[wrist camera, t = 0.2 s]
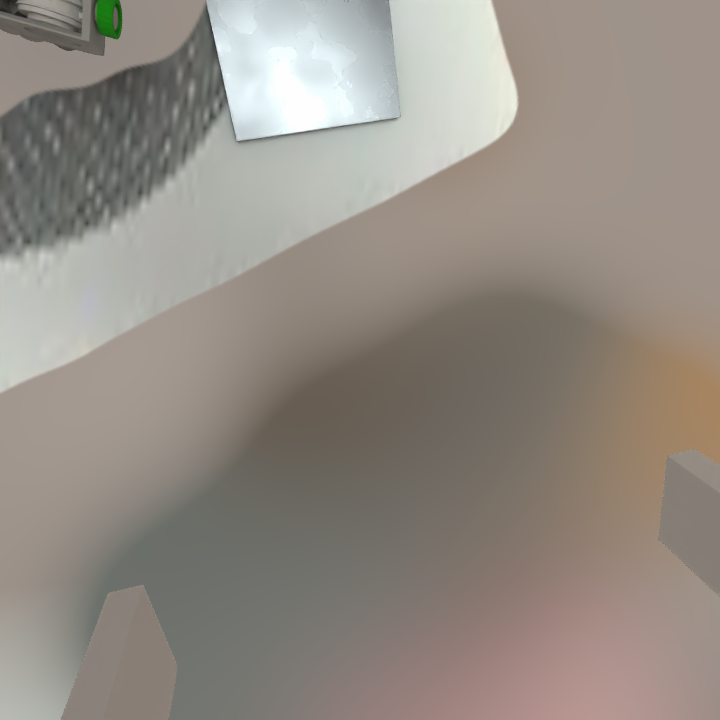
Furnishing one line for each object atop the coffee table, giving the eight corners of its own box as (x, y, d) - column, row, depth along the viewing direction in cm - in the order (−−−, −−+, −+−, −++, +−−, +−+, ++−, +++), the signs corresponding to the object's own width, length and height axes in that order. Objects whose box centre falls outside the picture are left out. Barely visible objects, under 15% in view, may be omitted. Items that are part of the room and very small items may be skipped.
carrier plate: (178, -129, 28) (175, -140, 27) (369, -146, 29) (373, -156, 28) (237, 141, 33) (236, 141, 32) (397, 118, 34) (400, 116, 33)
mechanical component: (-34, -23, 28) (-184, -121, 18) (160, 33, 30) (113, -28, 21) (-32, 37, 28) (-175, -28, 19) (155, 87, 31) (108, 50, 22)
